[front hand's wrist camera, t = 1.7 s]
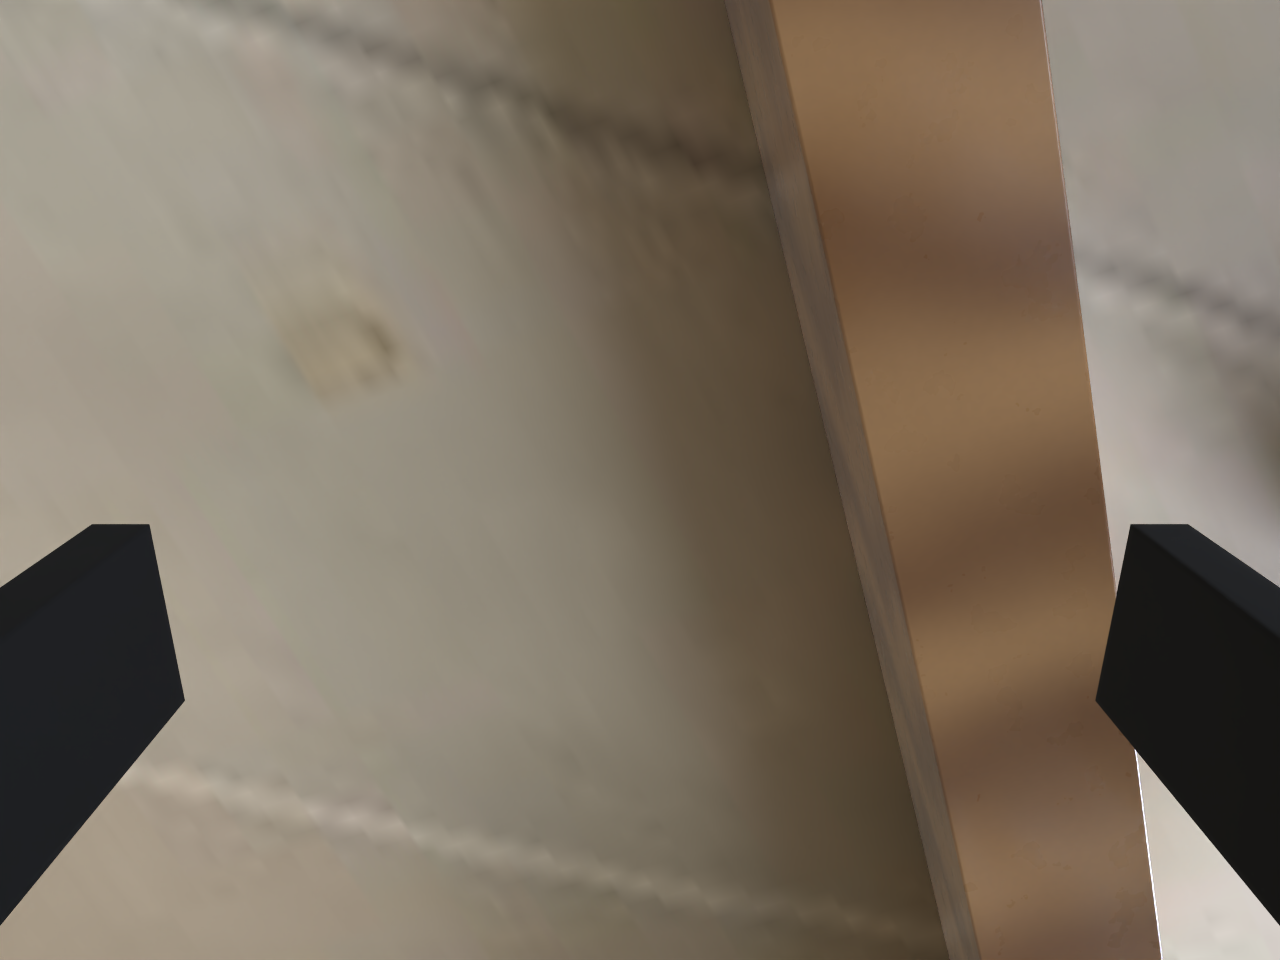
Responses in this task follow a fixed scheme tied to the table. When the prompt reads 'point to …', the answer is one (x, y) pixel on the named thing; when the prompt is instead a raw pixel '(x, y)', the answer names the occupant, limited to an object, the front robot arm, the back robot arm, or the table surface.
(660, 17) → the table surface
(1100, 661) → the post
